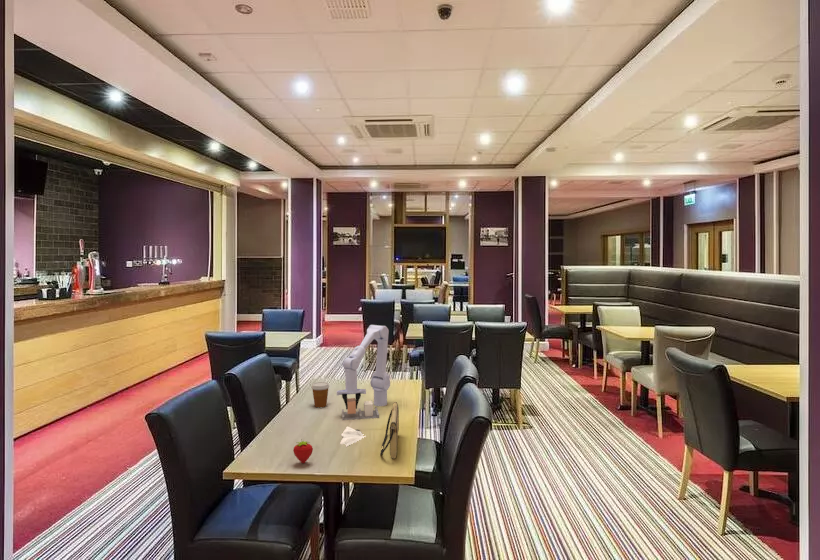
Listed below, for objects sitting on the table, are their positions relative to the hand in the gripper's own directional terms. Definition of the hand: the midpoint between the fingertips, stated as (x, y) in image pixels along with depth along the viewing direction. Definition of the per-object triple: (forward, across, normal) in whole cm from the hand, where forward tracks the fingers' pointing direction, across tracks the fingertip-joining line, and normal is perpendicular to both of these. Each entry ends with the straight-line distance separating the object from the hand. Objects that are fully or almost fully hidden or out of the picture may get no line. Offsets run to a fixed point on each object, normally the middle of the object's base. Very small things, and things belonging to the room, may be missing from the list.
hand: (351, 408), depth 231 cm
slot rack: (+4, +4, 0) cm, 6 cm away
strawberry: (+5, -21, -50) cm, 54 cm away
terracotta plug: (+2, 0, 0) cm, 2 cm away
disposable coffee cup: (+5, -16, +22) cm, 27 cm away
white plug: (+3, +8, 0) cm, 9 cm away
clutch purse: (+5, +14, -40) cm, 42 cm away
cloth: (+6, -1, -25) cm, 25 cm away
